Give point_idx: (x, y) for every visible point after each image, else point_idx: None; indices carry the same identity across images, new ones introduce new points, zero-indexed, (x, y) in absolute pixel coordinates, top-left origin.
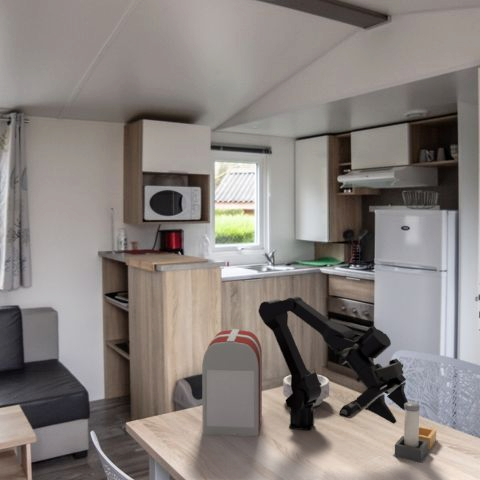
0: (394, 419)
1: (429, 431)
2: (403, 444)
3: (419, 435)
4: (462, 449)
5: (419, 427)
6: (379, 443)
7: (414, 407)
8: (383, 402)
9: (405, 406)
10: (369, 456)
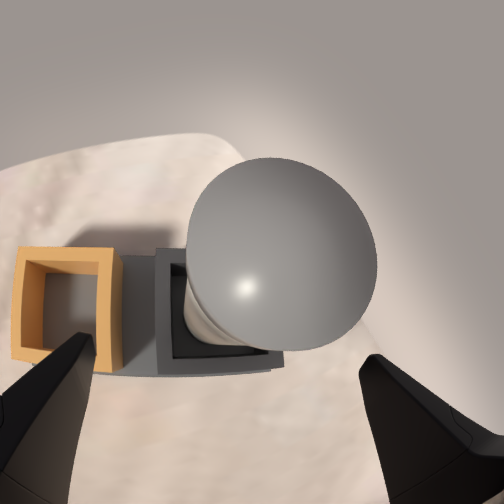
0: (390, 363)
1: (28, 275)
2: (189, 357)
3: (106, 299)
4: (56, 183)
5: (20, 320)
6: (154, 458)
7: (349, 199)
8: (492, 443)
9: (361, 306)
10: (288, 441)
